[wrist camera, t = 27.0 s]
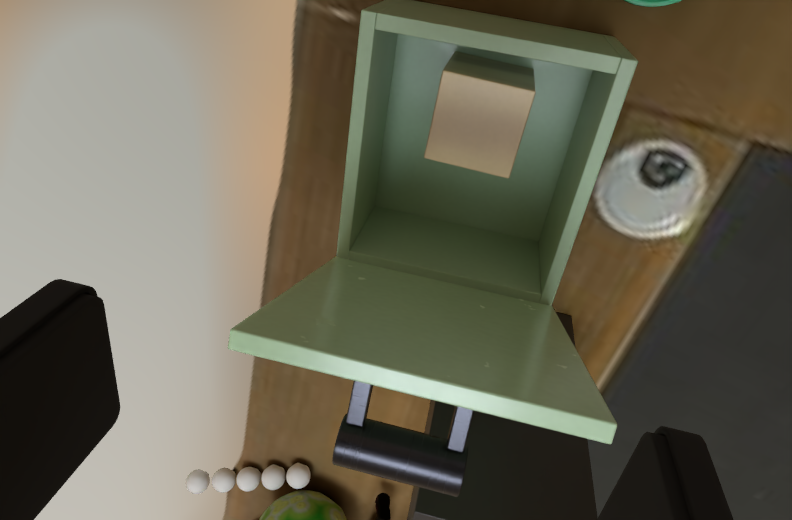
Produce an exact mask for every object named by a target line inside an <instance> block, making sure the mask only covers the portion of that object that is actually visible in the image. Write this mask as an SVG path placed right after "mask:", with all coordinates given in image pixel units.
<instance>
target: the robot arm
mask: <svg viewBox="0 0 792 520" xmlns="http://www.w3.org/2000/svg"><path fill="white" fill-rule="evenodd" d="M119 411H120V402H119V395H118V390H117V383H116V377H115V370H114V364H113V358H112V352H111V346H110V339H109V333H108V327H107V321H106V314H105V308H104V303H103V300H102V299H101V298H99V297H97V293H96V291H95V290H94V288H93V287H90V286H86V285H82V284H78V283H74V282H70V281H66V280H62V279H58V280H54V281H52V282H50V283H48V284H47V285H46V286H44V287H43V288H41V289H40V290H39V291H37V292H36V293H35V294H33V295H32V296H30V297H29V298H28V299H26V300H25V301H24V302H22V303H21V304H19V305H18V306H17V307H15V308H14V309H12V310H11V311H10V312H8V313H7V314H6V315H4V316H3V317H1V318H0V520H34V519H35V518H36V516H37V515H38V514H39V513H40V512H41V510H42V509H43V508H44V507H45V506H46V505H47V503H48V502H49V501H50V500H51V499H52V497H53V496H54V495H55V494H56V493H57V491H58V490H59V489H60V488H61V487H62V486H63V484H64V483H65V482H66V481H67V480H68V478H69V477H70V476H71V475H72V474H73V473H74V471H75V470H76V469H77V468H78V466H79V465H80V464H81V463H82V462H83V461H84V459H85V458H86V457H87V456H88V455H89V454H90V452H91V451H92V450H93V449H94V448H95V447H96V445H97V444H98V443H99V442H100V441H101V439H102V438H103V437H104V436H105V435H106V434H107V432H108V431H109V430H110V429H111V428H112V426H113V425H114V423H115V422H116V420H117V418H118V415H119ZM597 520H733V517H732V515H731V512H730V509H729V506H728V504H727V501H726V498H725V495H724V493H723V490H722V487H721V484H720V482H719V479H718V476H717V473H716V471H715V468H714V465H713V462H712V460H711V457H710V454H709V451H708V449H707V446H706V443H705V441H704V440H703V438H702V437H701V436H700V435H697V434H693V433H689V432H685V431H681V430H676V429H672V428H668V427H663V426H661V427H659V428H658V429H657V430H656V431H655V433H650V432H646V433H645V434H644V435H643V436H642V438H641V440H640V441H639V443H638V445H637V447H636V449H635V451H634V452H633V454H632V456H631V458H630V460H629V462H628V464H627V465H626V467H625V469H624V471H623V473H622V475H621V477H620V478H619V480H618V482H617V484H616V486H615V488H614V489H613V491H612V493H611V495H610V497H609V499H608V501H607V502H606V504H605V506H604V508H603V510H602V512H601V514H600V515H599V517H598V519H597Z"/></svg>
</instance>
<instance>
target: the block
mask: <svg viewBox="0 0 792 520" xmlns="http://www.w3.org/2000/svg"><path fill="white" fill-rule="evenodd" d="M535 94H536V90H535V78H534V69H531V68H527V67H523V66H518V65H514V64H510V63H505V62H501V61H497V60H492V59H488V58H483V57H479V56H475V55H470V54H466V53H462V52H457V51H455V52H454V53H453V55H452V56H451V58H450V60H449V61H448V63H447V64H446V66H445V68H444V69H443V71H442V75H441V80H440V84H439V89H438V94H437V98H436V103H435V107H434V112H433V117H432V121H431V126H430V130H429V135H428V140H427V144H426V149H425V153H424V158H426V159H430V160H434V161H438V162H442V163H446V164H450V165H455V166H459V167H463V168H467V169H471V170H475V171H479V172H483V173H487V174H491V175H495V176H499V177H504V178H509V177H510V175H511V171H512V168H513V165H514V162H515V158H516V155H517V152H518V149H519V145H520V142H521V139H522V136H523V133H524V129H525V126H526V123H527V120H528V116H529V113H530V110H531V107H532V103H533V100H534V97H535Z"/></svg>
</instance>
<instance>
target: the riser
mask: <svg viewBox="0 0 792 520" xmlns="http://www.w3.org/2000/svg"><path fill="white" fill-rule="evenodd" d="M556 314H557V316H558V317H559V319H560V321H561V323H562V325H563V327H564V328H565V330H566V332H567V334H568V336H569V337H570V339H571V341H572V343H573V345H574V346H575V341H574V334H573V326H572V318H571V316H570V315H566V314H561V313H557V312H556ZM454 409H455V406H454V405H450V404H446V403H442V402H438V401H434V400H431V402H430V407H429V412H428V417H427V422H426V427H425V432H424V433H426V434H430V435H434V436H437V437H441V438H445V439H447V438H448V434H449V429H450V425H451V421H452V417H453V413H454ZM466 444H467V445H468V457H467V463H466V469H465V474H464V479H463V483H462V487H461V491H460V493H459V495H458V497H454V496H450V495H447V494H443V493H439V492H435V491H432V490H428V489H424V488H420V487H416V486H414V487H413V492H412V497H411V502H410V507H409V512H408V517H407V520H597V511H596V503H595V496H594V488H593V480H592V472H591V465H590V457H589V449H588V442H587V438H583V437H579V436H575V435H571V434H567V433H563V432H558V431H554V430H550V429H546V428H542V427H538V426H534V425H530V424H526V423H522V422H518V421H514V420H510V419H506V418H502V417H498V416H494V415H490V414H486V413H482V412H478V411H474V414H473V418H472V422H471V426H470V430H469V434H468V438H467V442H466Z"/></svg>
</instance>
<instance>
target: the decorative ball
mask: <svg viewBox="0 0 792 520" xmlns="http://www.w3.org/2000/svg"><path fill="white" fill-rule="evenodd" d="M259 520H347V518H346V517H345V515H344V513H343V510H342V509H341V507H340V506H338V505H337V504H336V503H335V502H333V501H332V500H331V499H330V498H328V497H326V496H325V495H323V494H322V493H320V492H314V491H310V490H298V491H294V492H291V493H289V494H286V495H284V496H282V497H280V498H279V499H278V500H275V501H274V502H273V503H272V504H271V505H270V506H269V507H268V508H267V509H266V510H265V512H264V513H263V514H262V515H261V517H260V519H259Z"/></svg>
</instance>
